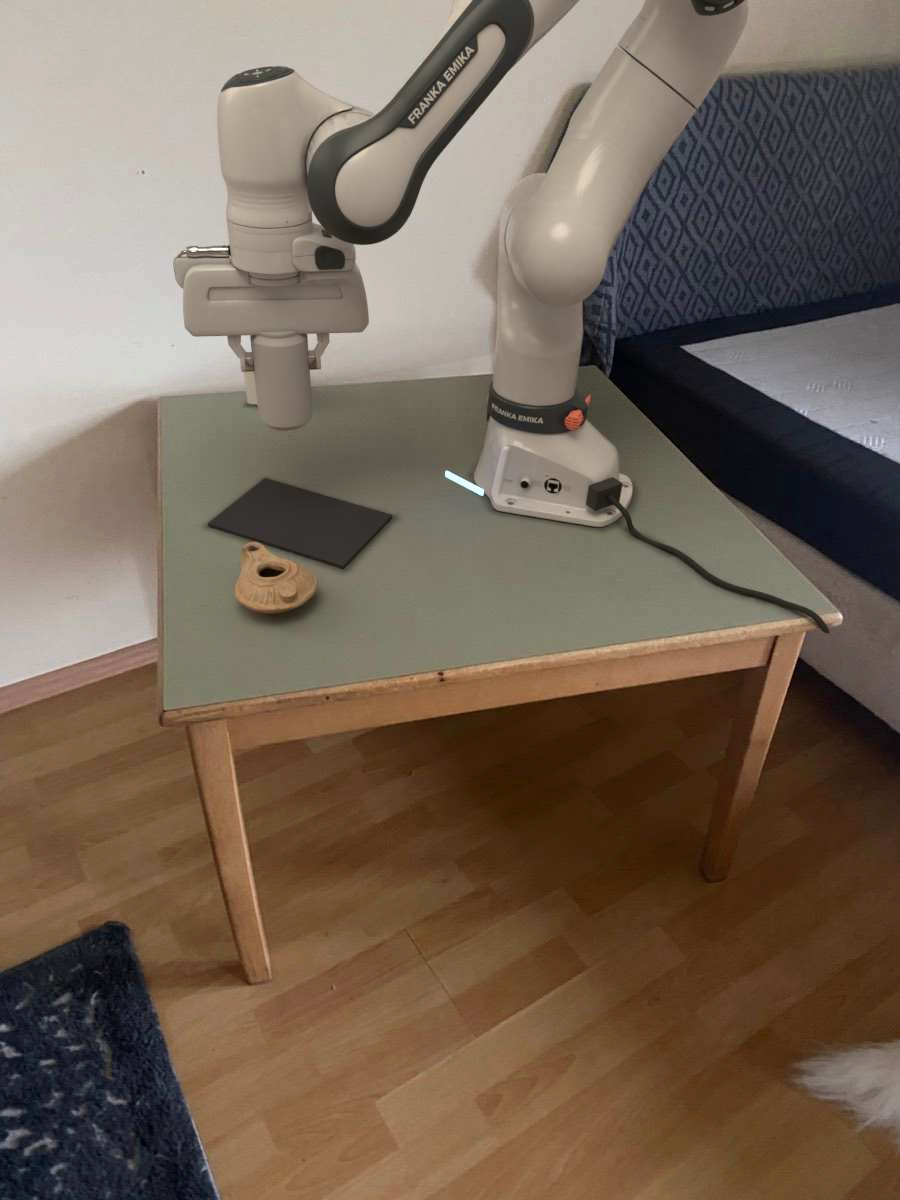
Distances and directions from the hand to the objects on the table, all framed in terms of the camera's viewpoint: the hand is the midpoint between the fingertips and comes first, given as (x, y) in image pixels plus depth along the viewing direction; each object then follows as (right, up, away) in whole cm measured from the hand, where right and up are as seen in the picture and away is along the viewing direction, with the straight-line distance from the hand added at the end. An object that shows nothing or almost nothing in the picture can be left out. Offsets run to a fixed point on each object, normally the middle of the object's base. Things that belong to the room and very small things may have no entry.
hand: (281, 368), depth 101 cm
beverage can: (0, -5, +4) cm, 7 cm away
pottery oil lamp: (-1, -26, +1) cm, 26 cm away
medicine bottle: (-9, +6, +41) cm, 42 cm away
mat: (0, -17, +13) cm, 21 cm away
